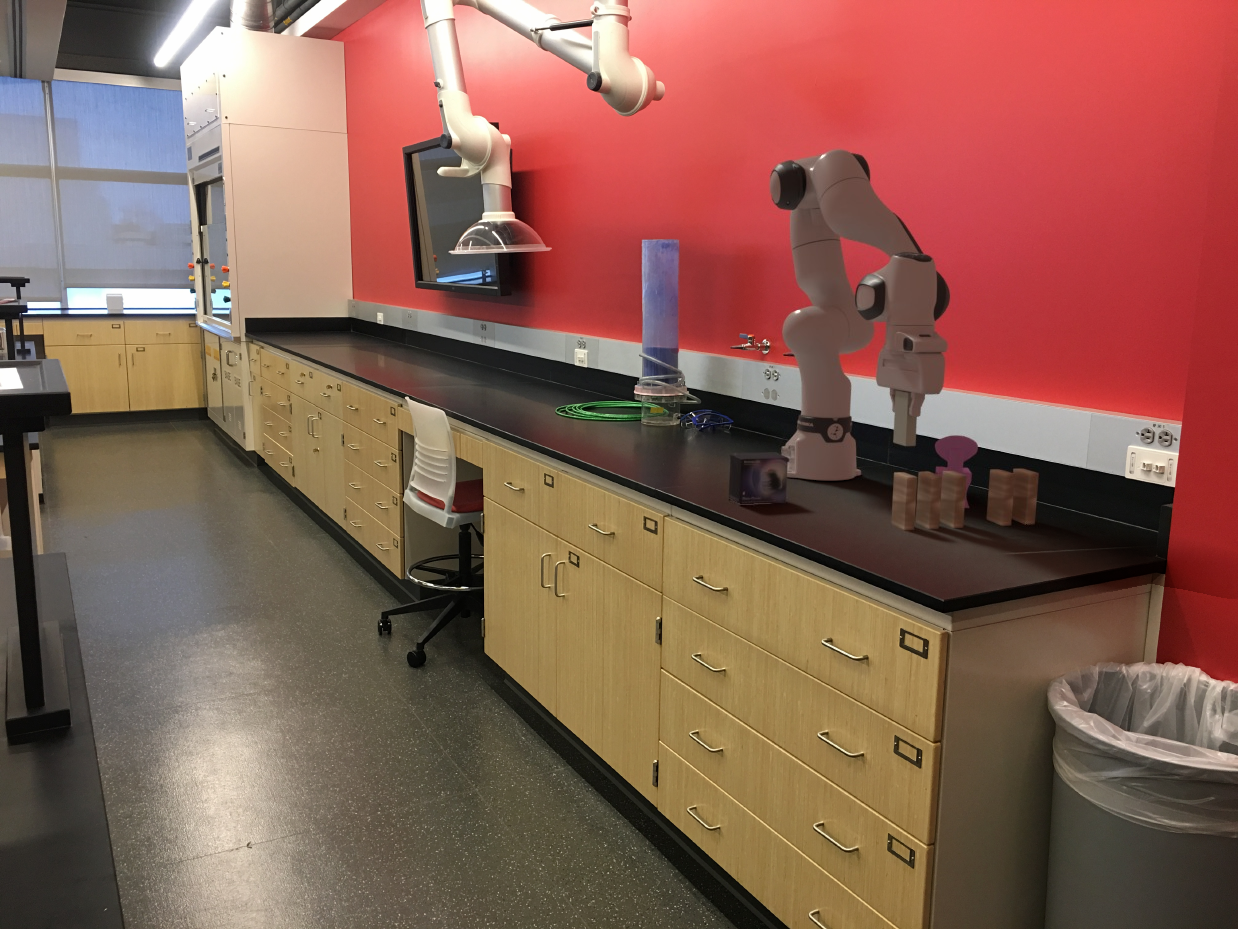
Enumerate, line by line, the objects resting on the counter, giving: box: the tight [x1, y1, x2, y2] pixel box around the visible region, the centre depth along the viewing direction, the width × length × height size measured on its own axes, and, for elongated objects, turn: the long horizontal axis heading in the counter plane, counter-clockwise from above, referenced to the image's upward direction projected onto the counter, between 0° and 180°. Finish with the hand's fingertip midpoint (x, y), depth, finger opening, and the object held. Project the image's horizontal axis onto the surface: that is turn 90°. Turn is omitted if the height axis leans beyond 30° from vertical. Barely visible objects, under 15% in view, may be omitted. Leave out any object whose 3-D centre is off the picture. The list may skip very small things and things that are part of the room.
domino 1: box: [892, 390, 918, 447], centre depth 187 cm, size 2×5×10 cm, turn 11°
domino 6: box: [1012, 468, 1040, 525], centre depth 189 cm, size 2×5×10 cm, turn 12°
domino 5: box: [986, 468, 1015, 527], centre depth 188 cm, size 2×5×10 cm, turn 12°
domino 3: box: [915, 471, 942, 530], centre depth 185 cm, size 2×5×10 cm, turn 12°
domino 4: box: [939, 471, 967, 529], centre depth 186 cm, size 2×5×10 cm, turn 12°
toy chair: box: [934, 434, 979, 509], centre depth 204 cm, size 8×9×15 cm
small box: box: [728, 451, 788, 504], centre depth 203 cm, size 11×6×10 cm, turn 106°
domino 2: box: [890, 471, 918, 531], centre depth 184 cm, size 2×5×10 cm, turn 12°
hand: (906, 414), depth 187 cm, fingers closed on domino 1, 5 cm apart
